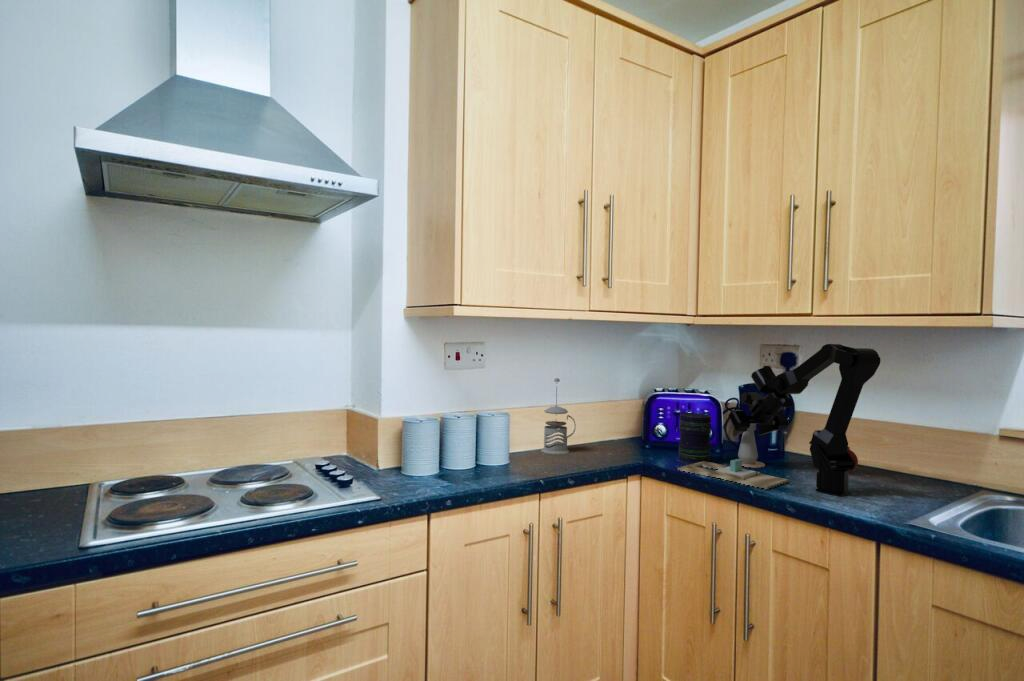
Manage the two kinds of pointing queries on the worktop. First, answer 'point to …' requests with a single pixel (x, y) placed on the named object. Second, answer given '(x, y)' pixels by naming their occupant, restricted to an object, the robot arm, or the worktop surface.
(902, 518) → the worktop surface
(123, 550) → the worktop surface
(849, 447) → the onion
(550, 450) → the french press
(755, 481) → the board
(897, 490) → the worktop surface
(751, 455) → the salt shaker
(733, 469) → the cover
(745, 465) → the pad
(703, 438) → the storage jar
